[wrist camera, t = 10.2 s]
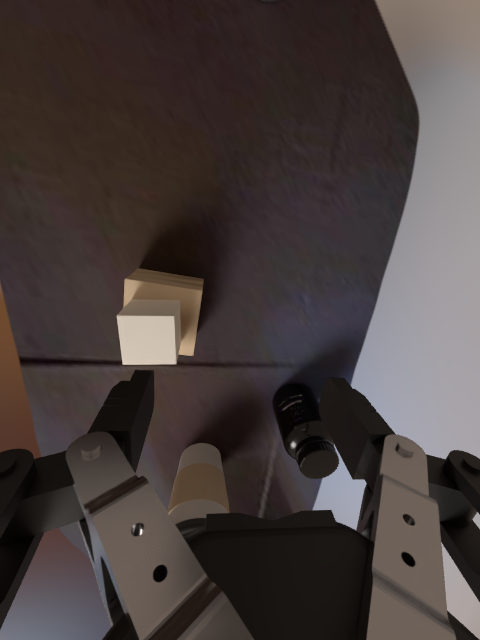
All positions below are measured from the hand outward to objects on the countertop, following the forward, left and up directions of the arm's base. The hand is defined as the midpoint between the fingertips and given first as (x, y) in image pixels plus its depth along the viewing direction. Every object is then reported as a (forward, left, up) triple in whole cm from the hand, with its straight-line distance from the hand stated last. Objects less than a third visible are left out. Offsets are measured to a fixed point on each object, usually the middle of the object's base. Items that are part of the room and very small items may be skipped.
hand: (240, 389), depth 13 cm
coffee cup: (+31, -2, -24) cm, 39 cm away
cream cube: (+4, -7, -18) cm, 20 cm away
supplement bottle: (+19, +12, -24) cm, 33 cm away
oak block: (+4, -7, -24) cm, 25 cm away
